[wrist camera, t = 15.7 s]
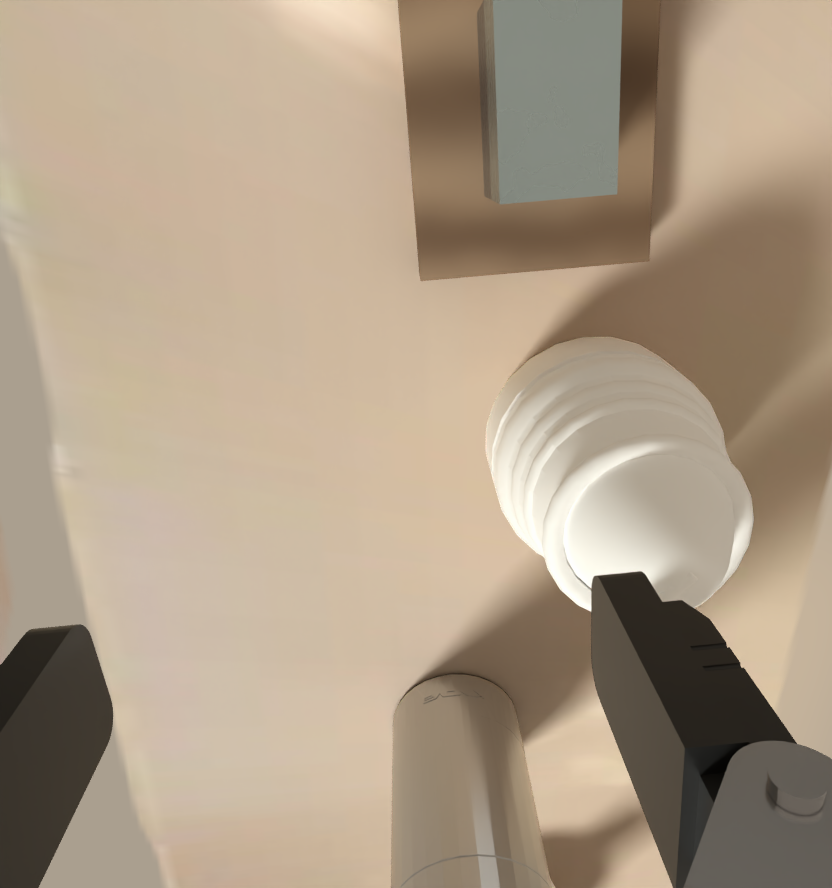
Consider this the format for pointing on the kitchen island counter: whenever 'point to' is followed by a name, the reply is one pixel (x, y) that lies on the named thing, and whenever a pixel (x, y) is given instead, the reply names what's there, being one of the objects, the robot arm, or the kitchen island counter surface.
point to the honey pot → (617, 471)
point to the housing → (549, 98)
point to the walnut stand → (461, 159)
